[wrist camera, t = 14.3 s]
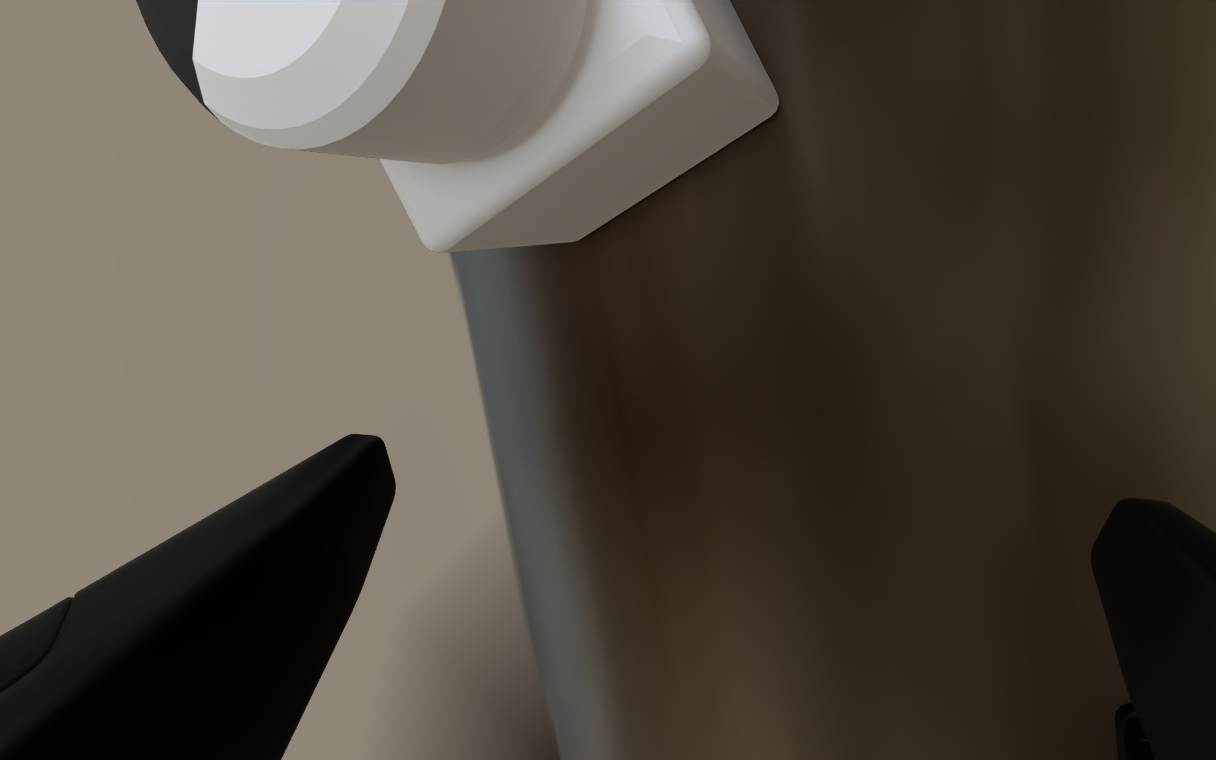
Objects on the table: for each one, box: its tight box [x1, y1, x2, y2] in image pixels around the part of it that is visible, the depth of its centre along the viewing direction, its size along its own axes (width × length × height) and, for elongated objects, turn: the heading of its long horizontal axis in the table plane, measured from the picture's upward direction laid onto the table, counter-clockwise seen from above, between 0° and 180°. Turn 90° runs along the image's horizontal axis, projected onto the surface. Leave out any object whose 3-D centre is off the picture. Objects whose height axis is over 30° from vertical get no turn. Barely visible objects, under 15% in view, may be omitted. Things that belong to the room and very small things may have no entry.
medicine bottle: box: [136, 0, 779, 253], centre depth 13 cm, size 7×7×12 cm
